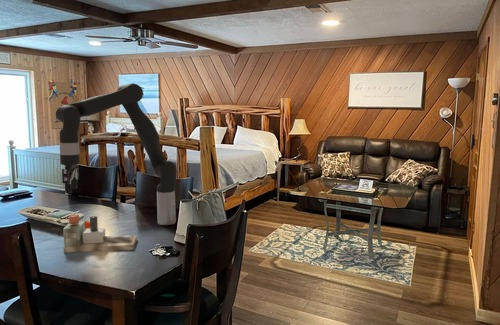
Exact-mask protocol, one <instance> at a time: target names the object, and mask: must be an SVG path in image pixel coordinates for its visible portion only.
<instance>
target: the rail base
mask: <svg viewBox="0 0 500 325" xmlns="http://www.w3.org/2000/svg"><path fill="white" fill-rule="evenodd" d="M84 231H85V220H82V221H81V220H79V223H78V224H69V223H67V224H66V225H65V226H64V228H63V230H62V233H63V245H64V246H63V253H86V252H105V251H106V252H107V251H127V250H134V248H135V246H136V243H137V240H138V238H137V237H138V236H137V235H131V234H130V235H128V234H127V235H108V236H106V235H105V236H104V237H103V240H104V242H103V243H88V244H84V242H83V232H84Z"/></svg>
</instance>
